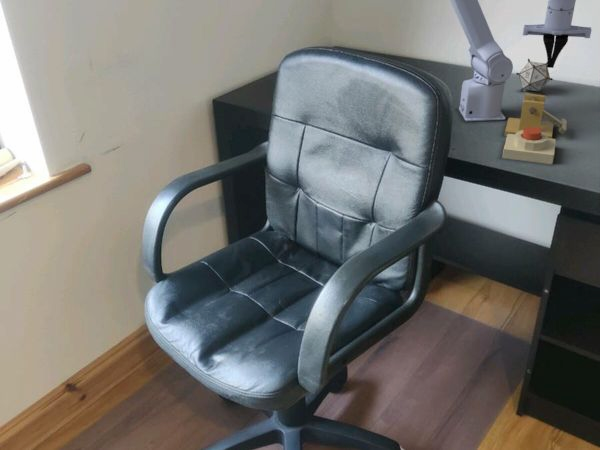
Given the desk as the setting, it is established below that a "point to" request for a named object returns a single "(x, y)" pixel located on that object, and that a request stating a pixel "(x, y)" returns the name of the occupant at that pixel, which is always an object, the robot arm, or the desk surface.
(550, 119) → the lever
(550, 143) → the control block
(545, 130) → the bracket
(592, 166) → the desk surface
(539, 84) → the game die
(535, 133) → the button
